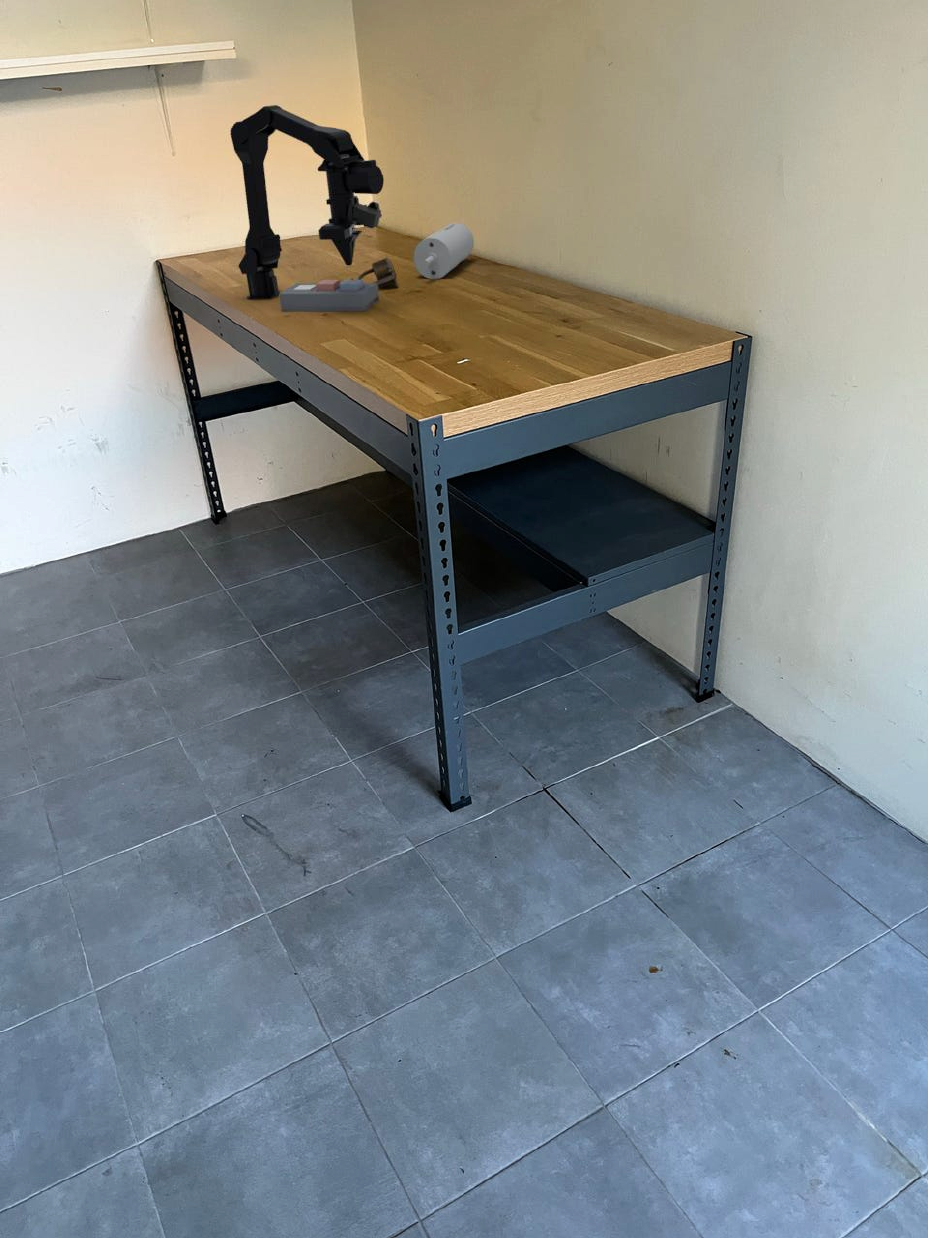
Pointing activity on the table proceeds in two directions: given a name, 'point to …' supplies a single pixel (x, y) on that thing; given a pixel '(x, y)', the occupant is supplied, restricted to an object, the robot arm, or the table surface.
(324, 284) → the red key
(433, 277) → the motor
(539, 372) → the table surface
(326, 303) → the key panel
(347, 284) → the blue key
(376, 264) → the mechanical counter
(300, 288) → the white key
